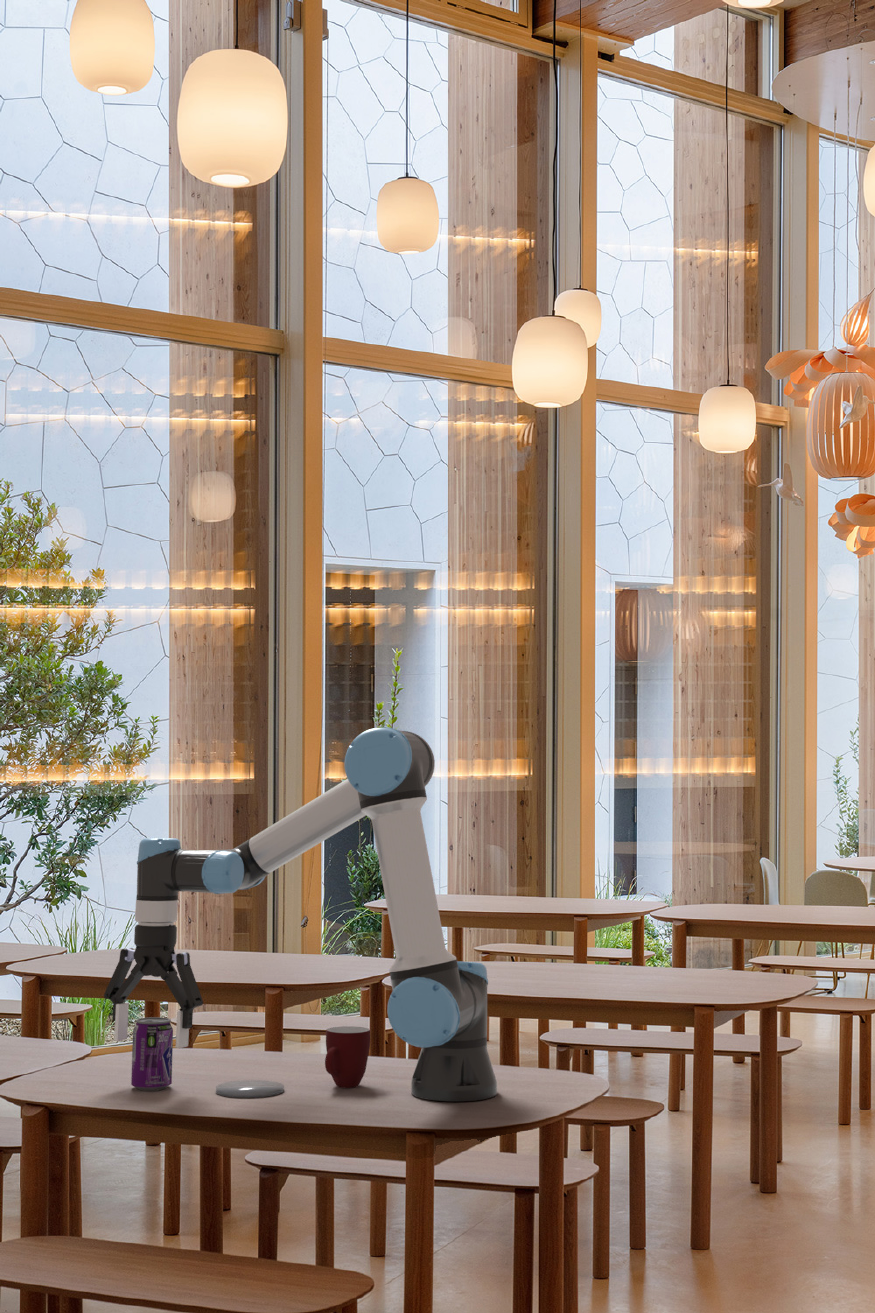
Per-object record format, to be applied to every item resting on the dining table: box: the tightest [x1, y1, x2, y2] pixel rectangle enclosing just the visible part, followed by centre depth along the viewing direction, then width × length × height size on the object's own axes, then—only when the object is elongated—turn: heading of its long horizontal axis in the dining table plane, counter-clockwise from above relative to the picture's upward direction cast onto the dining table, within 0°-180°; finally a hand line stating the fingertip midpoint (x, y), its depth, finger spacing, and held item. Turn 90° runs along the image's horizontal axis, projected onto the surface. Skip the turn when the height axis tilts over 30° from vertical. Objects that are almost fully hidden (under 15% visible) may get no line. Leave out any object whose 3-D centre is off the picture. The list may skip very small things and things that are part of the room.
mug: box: [324, 1025, 371, 1089], centre depth 252 cm, size 11×8×10 cm
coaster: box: [215, 1079, 285, 1099], centre depth 248 cm, size 12×12×1 cm
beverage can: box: [130, 1016, 174, 1092], centre depth 251 cm, size 7×7×12 cm
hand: (150, 1043), depth 251 cm, fingers open, 13 cm apart
